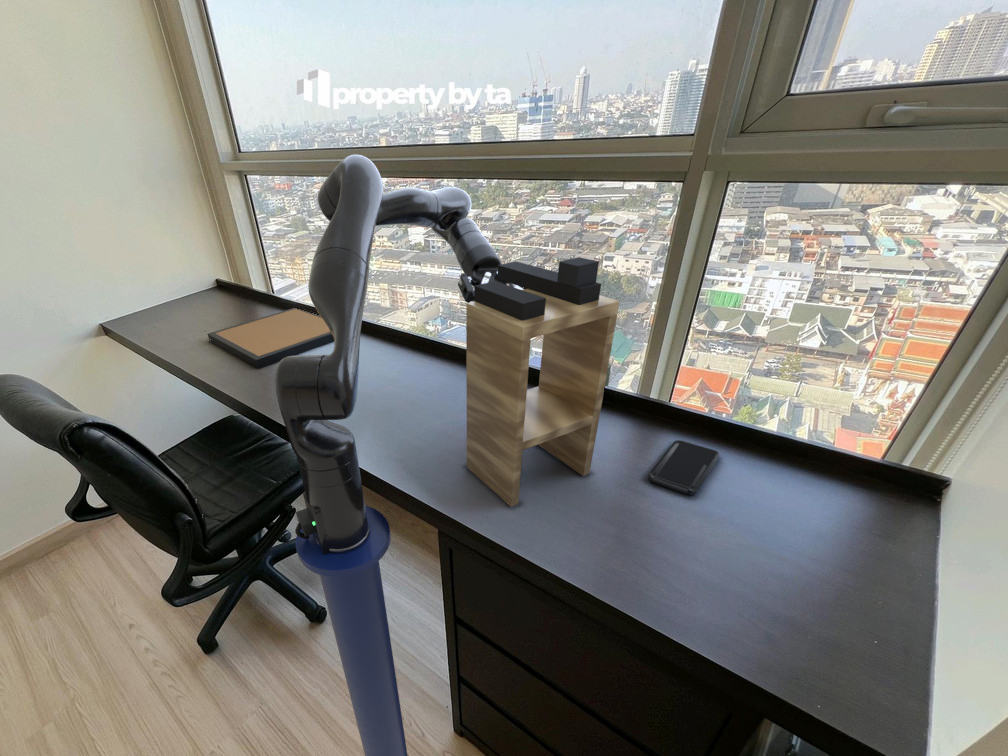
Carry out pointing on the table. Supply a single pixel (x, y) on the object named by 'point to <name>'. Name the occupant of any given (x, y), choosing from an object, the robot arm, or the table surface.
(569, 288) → the pad
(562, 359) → the shelf
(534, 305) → the pad
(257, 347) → the cork board
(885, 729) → the table surface
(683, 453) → the phone
